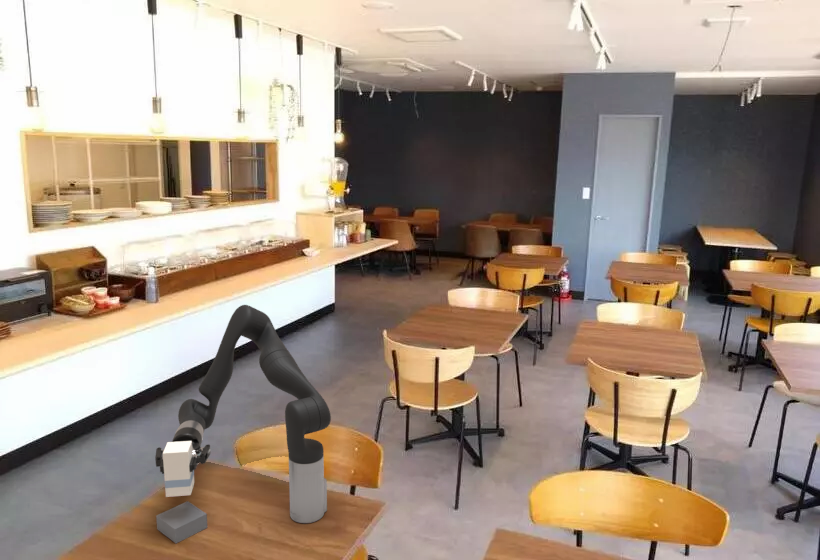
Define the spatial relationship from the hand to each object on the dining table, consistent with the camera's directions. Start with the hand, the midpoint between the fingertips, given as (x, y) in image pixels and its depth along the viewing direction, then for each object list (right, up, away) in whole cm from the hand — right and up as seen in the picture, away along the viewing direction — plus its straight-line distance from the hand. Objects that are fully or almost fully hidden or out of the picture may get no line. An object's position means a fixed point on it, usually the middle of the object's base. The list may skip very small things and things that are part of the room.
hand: (177, 469), depth 159 cm
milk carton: (-1, -6, +4) cm, 7 cm away
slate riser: (-1, -17, +6) cm, 18 cm away
